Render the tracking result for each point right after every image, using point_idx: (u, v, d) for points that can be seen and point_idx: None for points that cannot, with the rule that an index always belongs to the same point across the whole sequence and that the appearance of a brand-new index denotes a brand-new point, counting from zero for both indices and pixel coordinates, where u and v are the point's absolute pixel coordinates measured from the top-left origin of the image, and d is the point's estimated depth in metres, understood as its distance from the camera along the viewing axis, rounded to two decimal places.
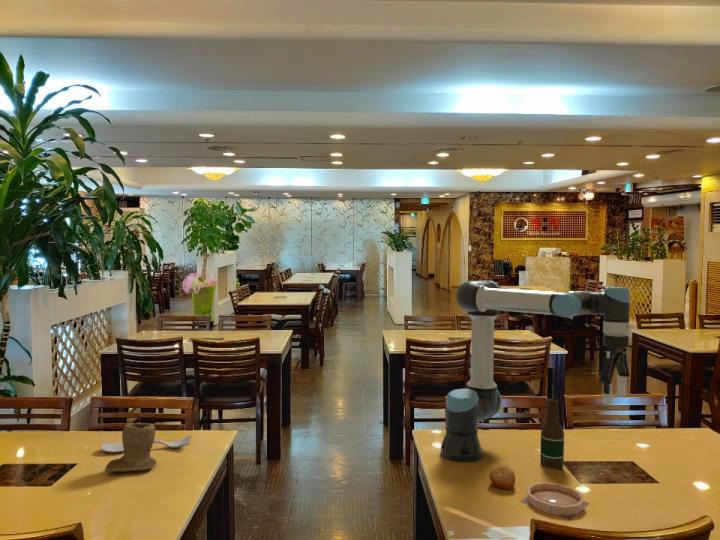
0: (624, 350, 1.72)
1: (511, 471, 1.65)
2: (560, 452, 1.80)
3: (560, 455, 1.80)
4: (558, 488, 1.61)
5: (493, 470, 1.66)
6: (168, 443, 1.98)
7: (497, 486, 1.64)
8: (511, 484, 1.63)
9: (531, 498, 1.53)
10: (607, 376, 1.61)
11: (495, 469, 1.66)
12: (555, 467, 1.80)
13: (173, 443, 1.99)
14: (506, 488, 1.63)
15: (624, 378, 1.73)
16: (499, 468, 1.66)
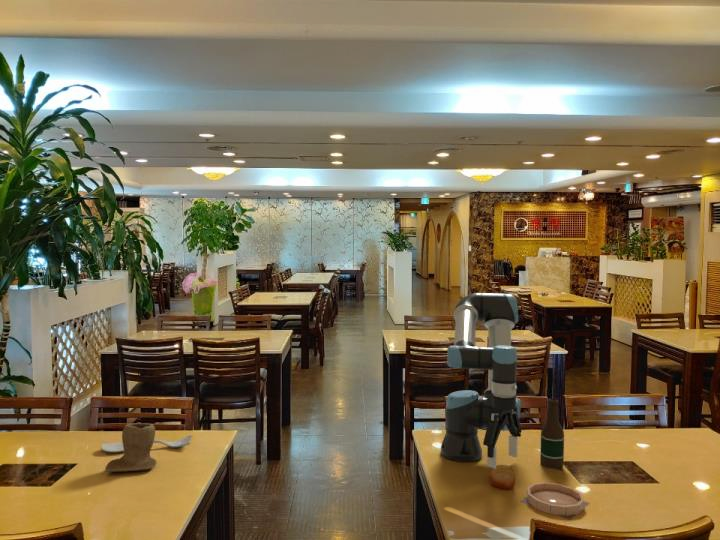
0: (514, 410, 1.69)
1: (511, 471, 1.65)
2: (560, 452, 1.80)
3: (560, 455, 1.80)
4: (558, 488, 1.61)
5: (493, 470, 1.66)
6: (169, 443, 1.98)
7: (497, 486, 1.64)
8: (511, 484, 1.63)
9: (531, 498, 1.53)
10: (490, 440, 1.58)
11: (495, 469, 1.66)
12: (555, 467, 1.80)
13: (174, 443, 1.99)
14: (506, 488, 1.63)
15: (515, 438, 1.69)
16: (499, 468, 1.66)
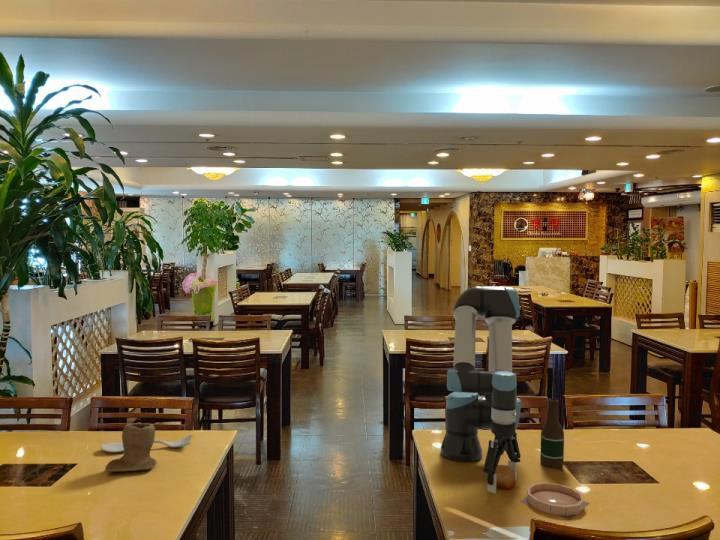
0: (514, 435, 1.69)
1: (511, 471, 1.65)
2: (560, 452, 1.80)
3: (560, 455, 1.80)
4: (558, 488, 1.61)
5: None
6: (169, 443, 1.98)
7: (497, 486, 1.64)
8: (511, 484, 1.63)
9: (531, 498, 1.53)
10: (489, 468, 1.59)
11: None
12: (555, 467, 1.80)
13: (174, 443, 1.99)
14: (506, 488, 1.63)
15: (514, 464, 1.70)
16: (499, 468, 1.66)
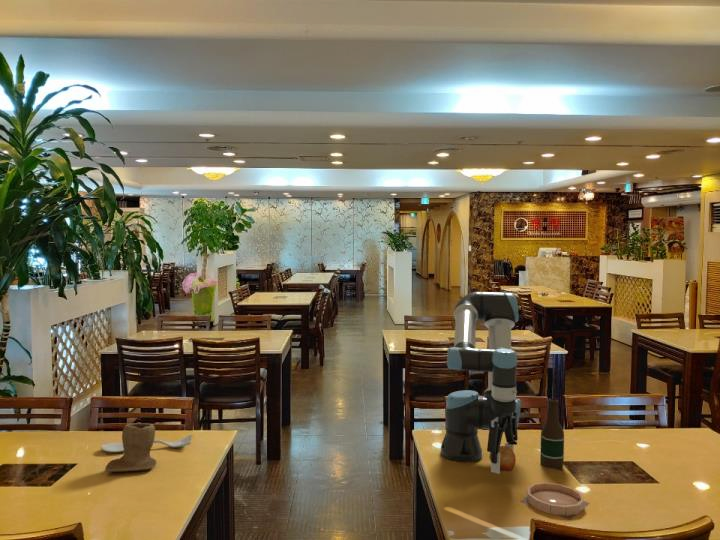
0: (514, 414, 1.69)
1: (511, 452, 1.65)
2: (560, 452, 1.80)
3: (560, 455, 1.80)
4: (558, 488, 1.61)
5: None
6: (169, 443, 1.98)
7: None
8: (511, 465, 1.63)
9: (531, 498, 1.53)
10: (493, 447, 1.60)
11: None
12: (555, 467, 1.80)
13: (174, 443, 1.99)
14: (506, 469, 1.63)
15: (511, 446, 1.69)
16: (499, 449, 1.66)
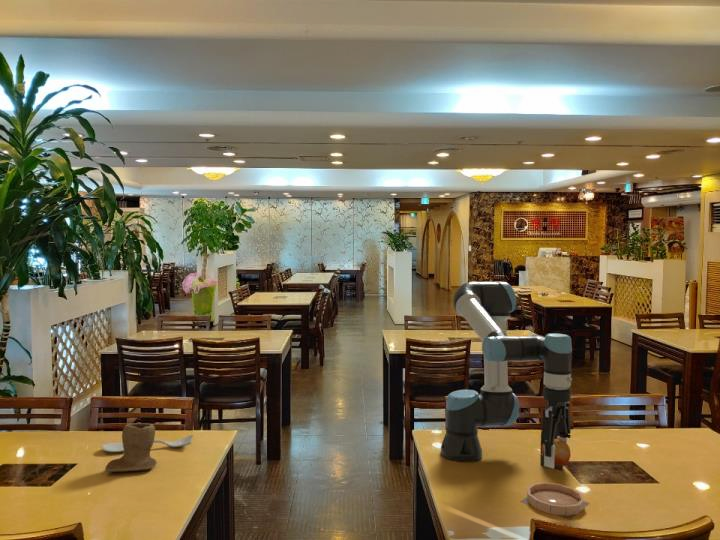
0: (567, 405, 1.57)
1: (566, 445, 1.53)
2: None
3: None
4: (558, 488, 1.61)
5: None
6: (170, 443, 1.98)
7: None
8: (566, 459, 1.51)
9: (531, 498, 1.53)
10: (547, 439, 1.48)
11: None
12: (555, 467, 1.80)
13: (175, 443, 1.99)
14: (561, 463, 1.51)
15: (564, 440, 1.56)
16: None
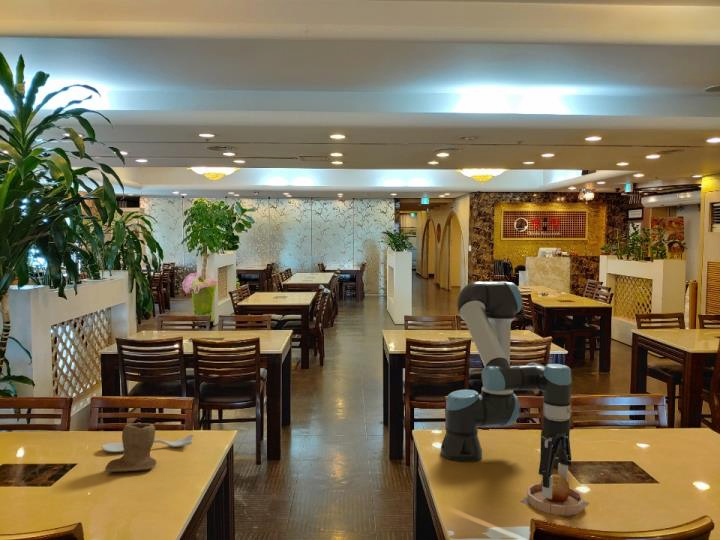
0: (567, 434, 1.58)
1: (565, 481, 1.53)
2: None
3: None
4: None
5: None
6: (170, 442, 1.98)
7: None
8: (566, 495, 1.51)
9: (531, 498, 1.53)
10: (546, 469, 1.48)
11: None
12: (555, 467, 1.80)
13: (175, 442, 1.99)
14: (560, 500, 1.51)
15: (565, 467, 1.57)
16: None
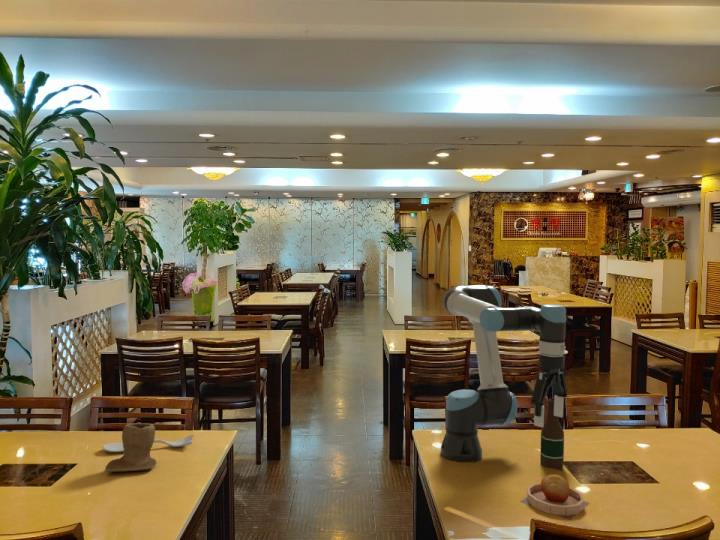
0: (561, 370, 1.66)
1: (565, 481, 1.53)
2: (560, 452, 1.80)
3: (560, 455, 1.80)
4: None
5: (545, 480, 1.54)
6: (170, 442, 1.98)
7: (550, 498, 1.52)
8: (566, 495, 1.51)
9: (531, 498, 1.53)
10: (538, 398, 1.56)
11: (547, 479, 1.54)
12: (555, 467, 1.80)
13: (175, 442, 1.99)
14: (560, 500, 1.51)
15: (561, 398, 1.67)
16: (552, 478, 1.54)
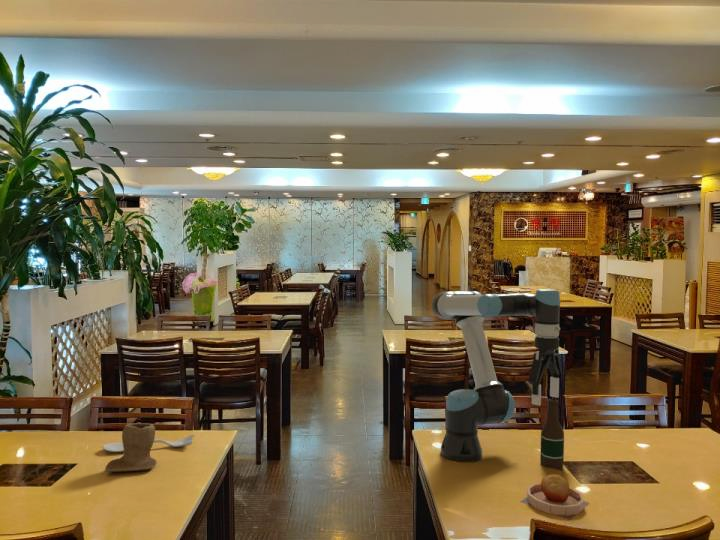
0: (556, 352, 1.75)
1: (565, 481, 1.53)
2: (560, 452, 1.80)
3: (560, 455, 1.80)
4: None
5: (545, 480, 1.54)
6: (171, 442, 1.98)
7: (550, 498, 1.52)
8: (566, 495, 1.51)
9: (531, 498, 1.53)
10: (535, 377, 1.64)
11: (547, 479, 1.54)
12: (555, 467, 1.80)
13: (176, 442, 1.99)
14: (560, 500, 1.51)
15: (556, 379, 1.75)
16: (552, 478, 1.54)
